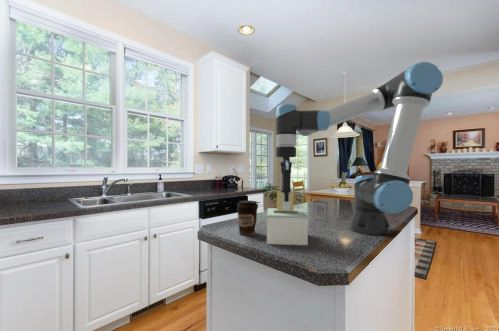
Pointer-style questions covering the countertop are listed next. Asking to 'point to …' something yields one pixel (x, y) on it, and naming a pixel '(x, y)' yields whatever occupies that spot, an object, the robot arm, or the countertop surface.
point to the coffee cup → (247, 217)
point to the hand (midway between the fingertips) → (286, 209)
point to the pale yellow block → (280, 201)
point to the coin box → (287, 227)
